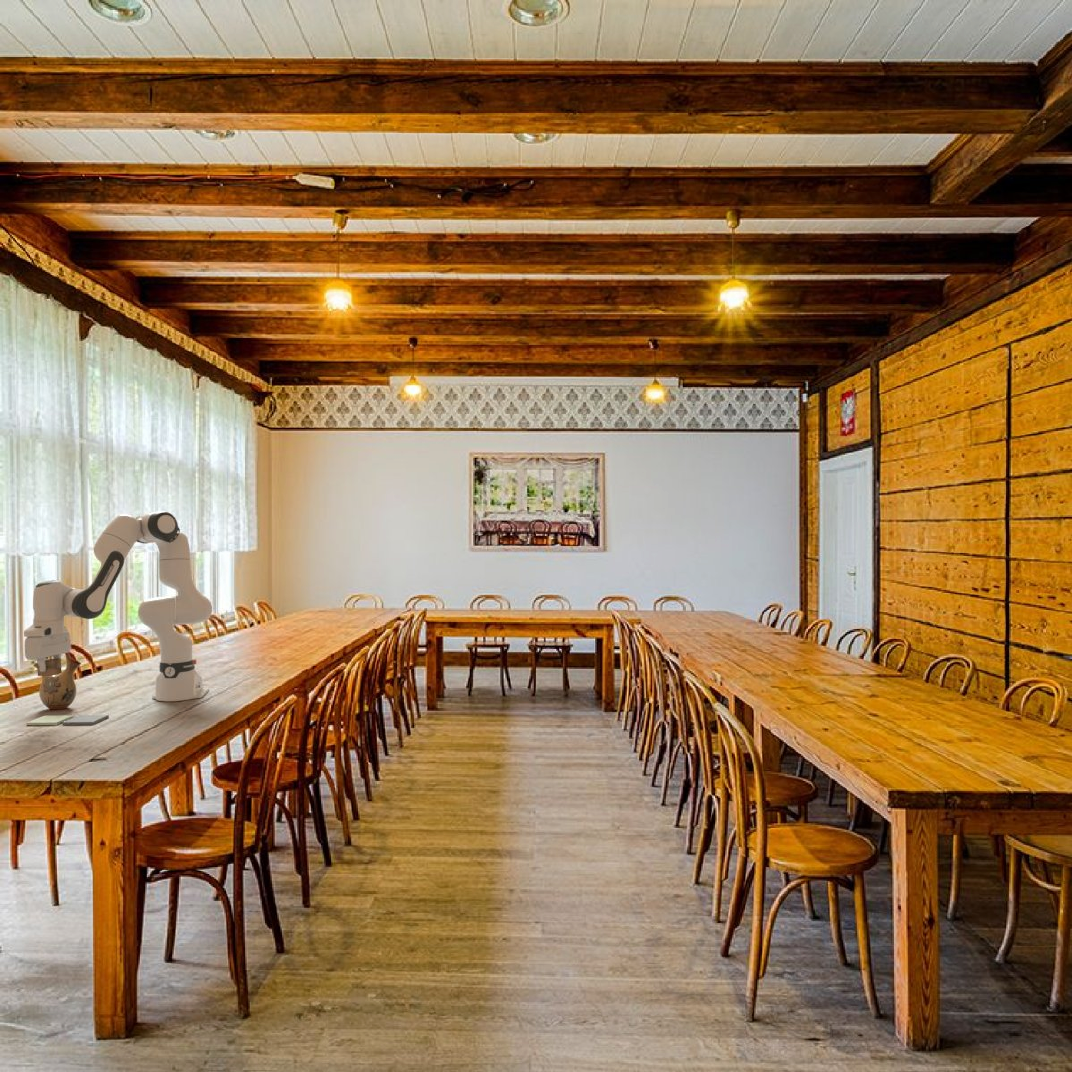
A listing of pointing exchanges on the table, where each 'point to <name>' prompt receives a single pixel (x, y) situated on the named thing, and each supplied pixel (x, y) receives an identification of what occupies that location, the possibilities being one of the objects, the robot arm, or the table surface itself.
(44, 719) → the pad
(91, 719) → the pad
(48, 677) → the ceramic vessel
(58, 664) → the walnut block
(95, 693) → the table surface
